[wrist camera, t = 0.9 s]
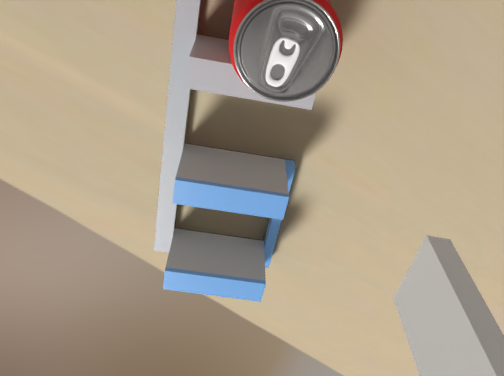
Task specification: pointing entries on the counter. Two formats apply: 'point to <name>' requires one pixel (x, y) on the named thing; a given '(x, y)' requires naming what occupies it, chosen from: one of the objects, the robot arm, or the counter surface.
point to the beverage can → (284, 46)
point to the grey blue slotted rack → (214, 176)
